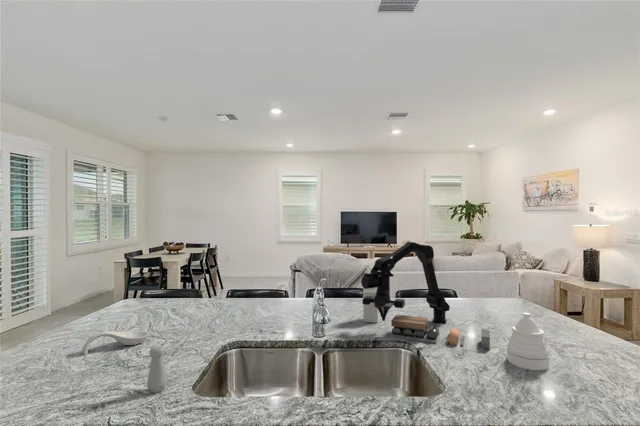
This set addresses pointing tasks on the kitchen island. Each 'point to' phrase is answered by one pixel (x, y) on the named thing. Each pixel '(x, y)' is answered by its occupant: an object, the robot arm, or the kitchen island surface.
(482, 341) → the block
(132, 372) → the kitchen island surface
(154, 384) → the salt shaker
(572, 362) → the kitchen island surface
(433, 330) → the track
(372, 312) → the milk carton
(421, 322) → the slab
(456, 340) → the roller
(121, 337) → the spoon rest
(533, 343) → the honey pot
